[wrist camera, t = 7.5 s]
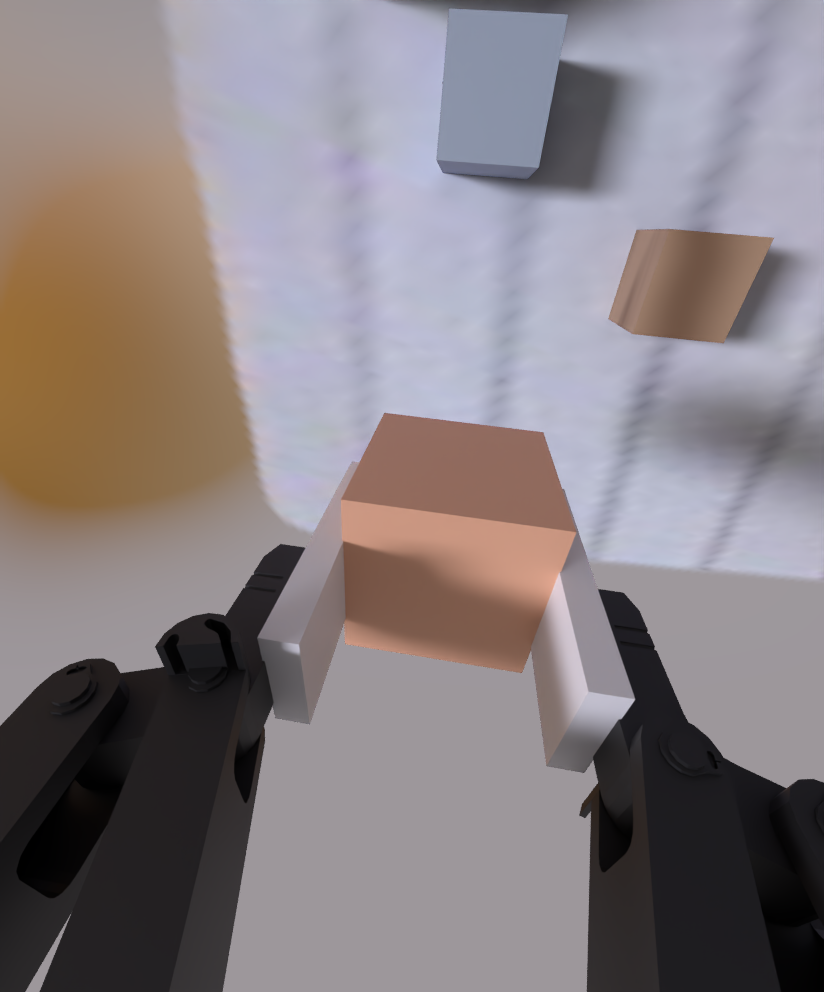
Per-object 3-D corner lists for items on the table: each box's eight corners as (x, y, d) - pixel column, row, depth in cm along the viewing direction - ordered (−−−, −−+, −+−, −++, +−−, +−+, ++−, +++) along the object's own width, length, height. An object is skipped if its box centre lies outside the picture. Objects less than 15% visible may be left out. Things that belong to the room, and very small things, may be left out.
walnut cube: (721, 237, 24) (774, 237, 20) (684, 326, 27) (723, 343, 23) (636, 229, 24) (669, 229, 20) (607, 318, 27) (632, 333, 23)
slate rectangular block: (549, 57, 21) (568, 14, 17) (527, 179, 24) (538, 167, 20) (453, 52, 21) (449, 8, 17) (442, 172, 24) (436, 160, 20)
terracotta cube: (543, 432, 12) (576, 532, 8) (509, 552, 15) (521, 672, 11) (384, 412, 13) (341, 499, 9) (379, 534, 16) (344, 643, 11)
